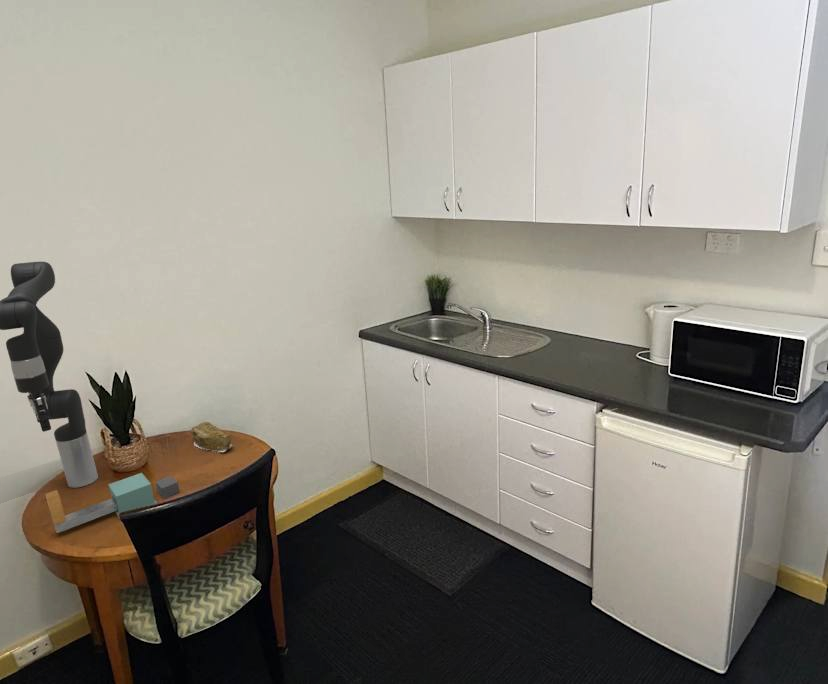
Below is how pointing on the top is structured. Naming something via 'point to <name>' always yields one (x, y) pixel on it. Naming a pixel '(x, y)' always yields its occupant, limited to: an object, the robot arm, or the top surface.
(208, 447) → the stone
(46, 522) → the top surface
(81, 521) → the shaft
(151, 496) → the block
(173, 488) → the block
